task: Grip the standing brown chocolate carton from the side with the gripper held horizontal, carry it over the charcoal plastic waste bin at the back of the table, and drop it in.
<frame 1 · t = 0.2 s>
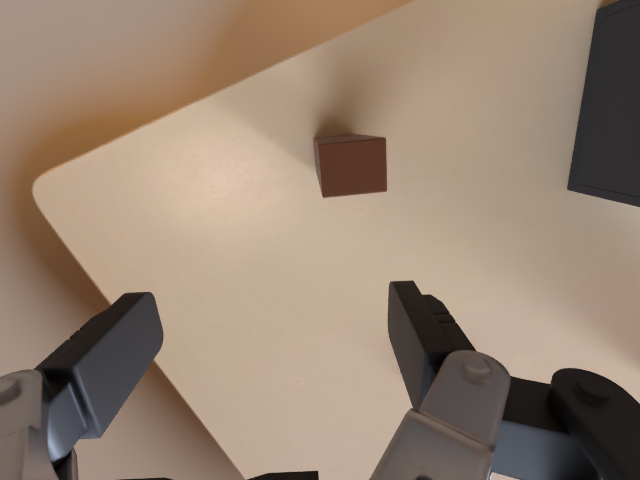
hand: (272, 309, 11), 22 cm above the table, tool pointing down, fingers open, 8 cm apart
chocolate carton: (335, 153, 31), on the table
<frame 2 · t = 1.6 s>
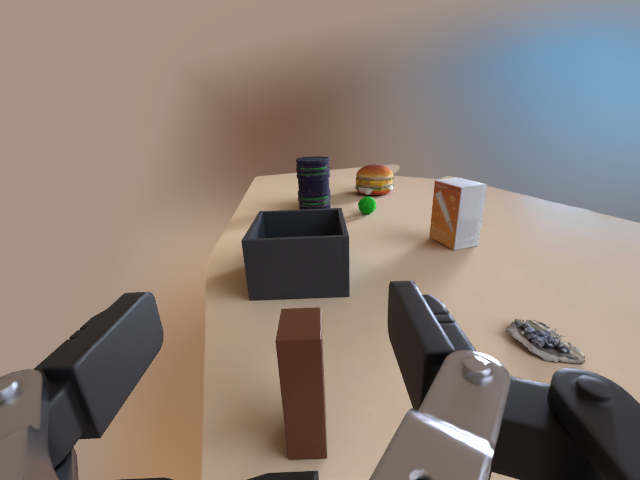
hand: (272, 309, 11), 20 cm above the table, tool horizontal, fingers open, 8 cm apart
navy striped cylinder: (314, 208, 99), on the table
chocolate carton: (308, 436, 28), on the table
burger: (373, 193, 115), on the table
waste bin: (301, 275, 57), on the table
polyhedron: (367, 214, 92), on the table
small box: (452, 242, 69), on the table
grey flat lumpy piece: (544, 344, 39), on the table
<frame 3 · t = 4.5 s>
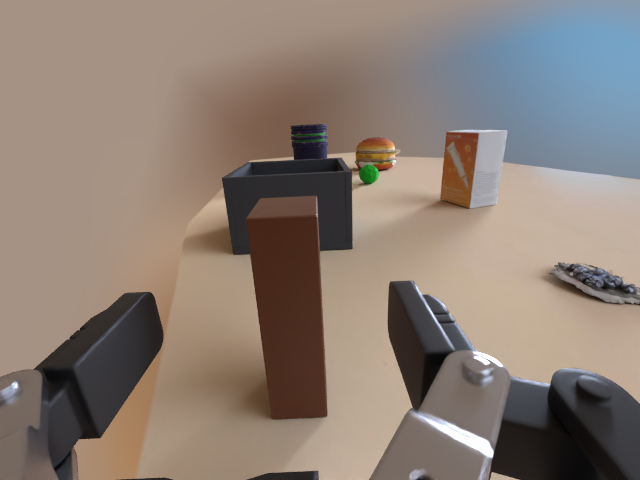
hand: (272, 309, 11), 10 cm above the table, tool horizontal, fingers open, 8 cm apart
navy striped cylinder: (311, 181, 92), on the table
chocolate carton: (301, 391, 20), on the table
burger: (375, 169, 107), on the table
waste bin: (296, 232, 49), on the table
polyhedron: (368, 184, 84), on the table
small box: (466, 203, 62), on the table
grey flat lumpy piece: (599, 287, 31), on the table
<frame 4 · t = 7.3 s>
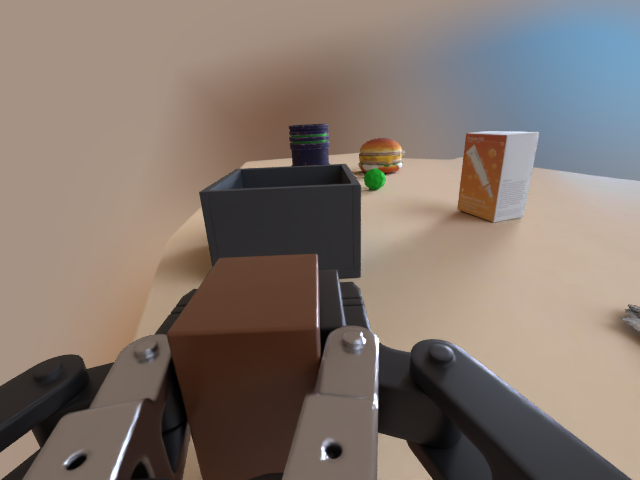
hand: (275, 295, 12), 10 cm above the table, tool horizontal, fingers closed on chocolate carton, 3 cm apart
navy striped cylinder: (311, 186, 84), on the table
burger: (380, 172, 100), on the table
waste bin: (292, 252, 42), on the table
polyhedron: (374, 190, 76), on the table
small box: (488, 215, 54), on the table
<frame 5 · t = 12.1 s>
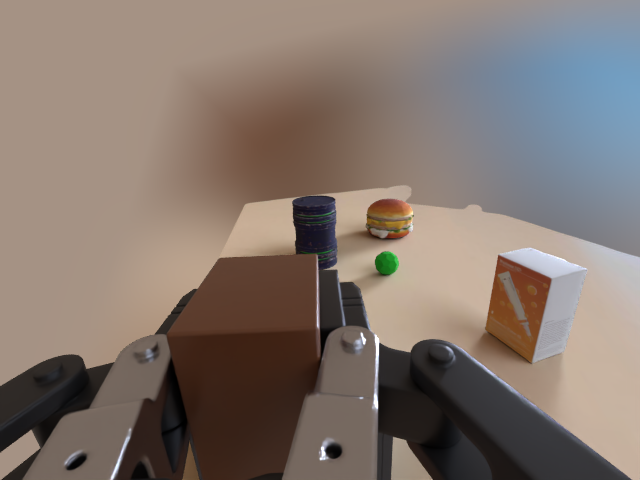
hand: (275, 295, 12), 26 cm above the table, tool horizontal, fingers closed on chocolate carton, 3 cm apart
navy striped cylinder: (317, 262, 77), on the table
burger: (388, 234, 93), on the table
waste bin: (302, 432, 35), on the table
polyhedron: (386, 273, 70), on the table
small box: (522, 342, 47), on the table
when the fingers open (19 cm above the table, at t = 17.0 s): chocolate carton drops 8 cm, resting on waste bin.
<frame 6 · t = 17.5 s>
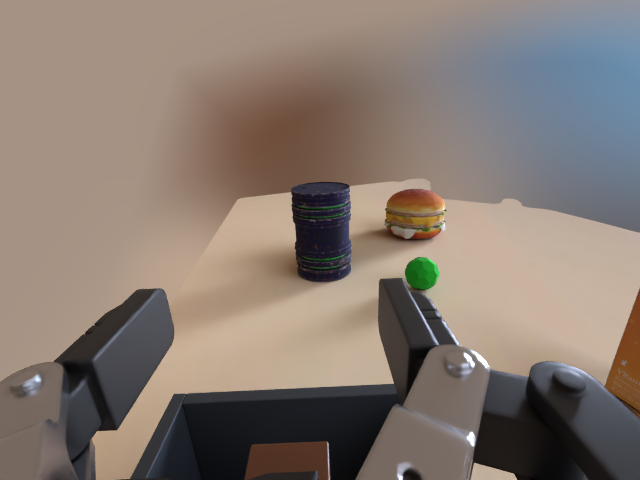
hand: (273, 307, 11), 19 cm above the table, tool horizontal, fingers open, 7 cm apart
navy striped cylinder: (324, 270, 58), on the table
burger: (413, 233, 74), on the table
polyhedron: (420, 288, 51), on the table
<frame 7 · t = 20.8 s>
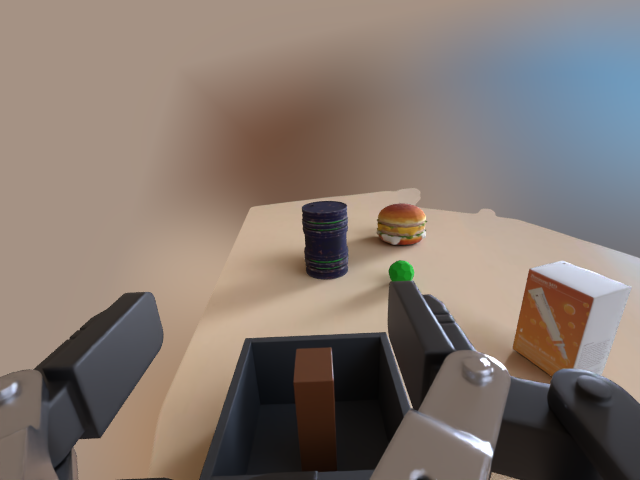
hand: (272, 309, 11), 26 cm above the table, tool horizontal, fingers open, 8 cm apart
navy striped cylinder: (327, 270, 74), on the table
chocolate carton: (320, 462, 31), point 1 cm above the table, touching waste bin
burger: (400, 240, 90), on the table
waste bin: (320, 468, 32), on the table
polyhedron: (400, 284, 66), on the table
small box: (554, 363, 44), on the table
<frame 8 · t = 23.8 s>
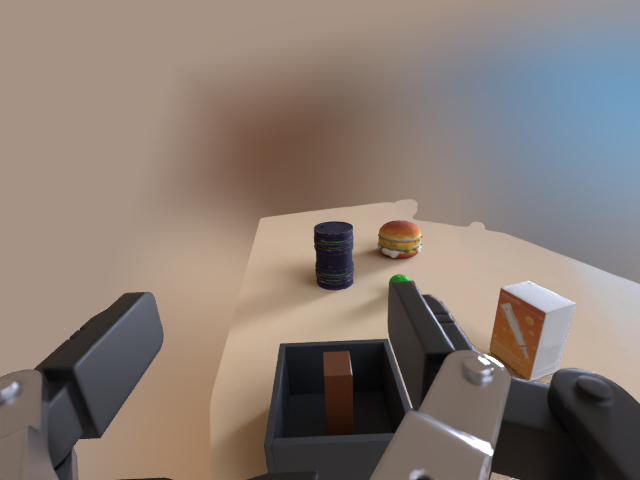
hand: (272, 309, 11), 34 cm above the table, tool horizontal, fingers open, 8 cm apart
navy striped cylinder: (334, 281, 85), on the table
chocolate carton: (339, 436, 42), point 1 cm above the table, touching waste bin
burger: (398, 253, 101), on the table
waste bin: (339, 441, 43), on the table
polyhedron: (399, 294, 77), on the table
small box: (521, 362, 55), on the table
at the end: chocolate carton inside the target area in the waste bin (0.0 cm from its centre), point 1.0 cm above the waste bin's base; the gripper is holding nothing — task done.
